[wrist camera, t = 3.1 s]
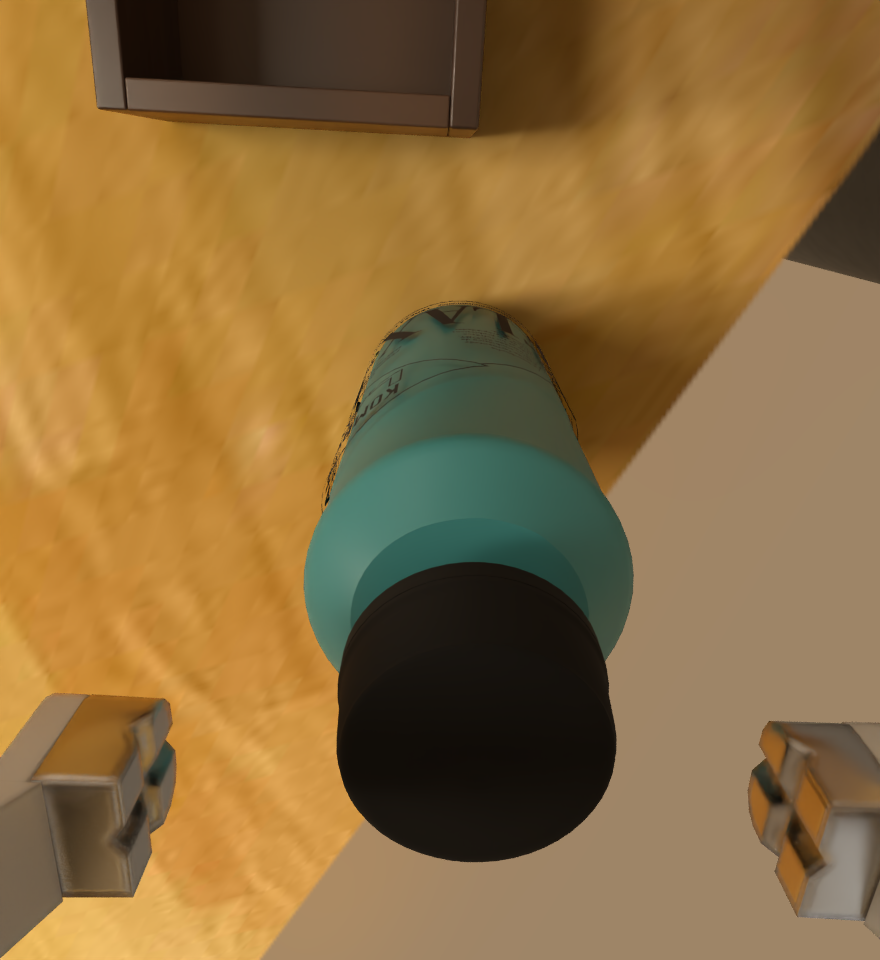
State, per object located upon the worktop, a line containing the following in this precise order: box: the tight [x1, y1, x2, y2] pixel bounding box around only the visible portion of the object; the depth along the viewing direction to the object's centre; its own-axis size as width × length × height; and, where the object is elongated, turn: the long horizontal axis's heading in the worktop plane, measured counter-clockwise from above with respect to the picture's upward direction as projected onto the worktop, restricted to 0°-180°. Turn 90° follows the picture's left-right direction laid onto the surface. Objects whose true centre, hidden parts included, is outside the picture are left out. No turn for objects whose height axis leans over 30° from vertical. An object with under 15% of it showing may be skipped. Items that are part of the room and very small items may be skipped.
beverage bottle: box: [304, 301, 634, 862], centre depth 19 cm, size 6×7×20 cm
